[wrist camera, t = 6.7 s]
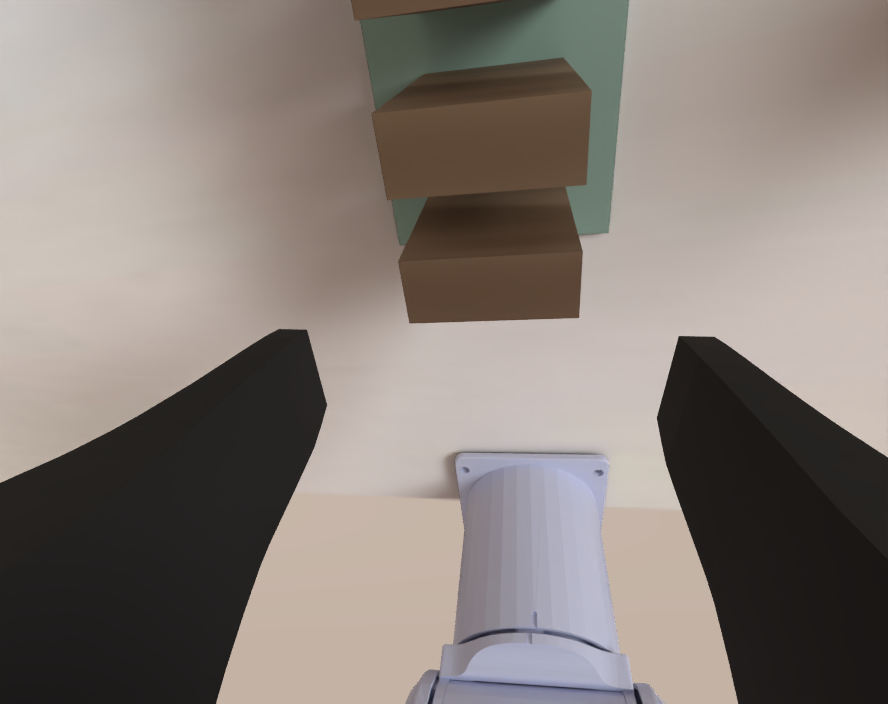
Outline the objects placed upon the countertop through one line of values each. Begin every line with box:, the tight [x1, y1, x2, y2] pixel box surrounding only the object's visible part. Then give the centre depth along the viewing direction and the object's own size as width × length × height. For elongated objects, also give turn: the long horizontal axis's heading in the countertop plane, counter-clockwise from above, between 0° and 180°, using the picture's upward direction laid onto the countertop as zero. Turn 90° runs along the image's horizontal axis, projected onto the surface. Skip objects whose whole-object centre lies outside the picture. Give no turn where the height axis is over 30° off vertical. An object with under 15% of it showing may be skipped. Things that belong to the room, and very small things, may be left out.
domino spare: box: [398, 187, 583, 323], centre depth 15 cm, size 2×4×7 cm, turn 96°
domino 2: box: [372, 57, 592, 200], centre depth 13 cm, size 2×4×7 cm, turn 97°
